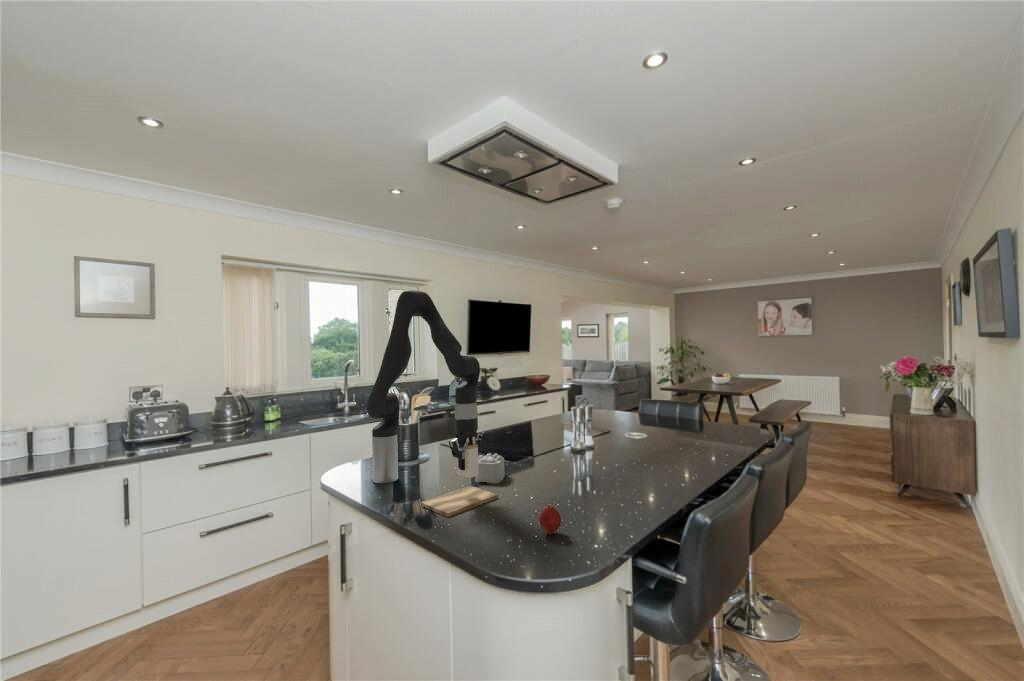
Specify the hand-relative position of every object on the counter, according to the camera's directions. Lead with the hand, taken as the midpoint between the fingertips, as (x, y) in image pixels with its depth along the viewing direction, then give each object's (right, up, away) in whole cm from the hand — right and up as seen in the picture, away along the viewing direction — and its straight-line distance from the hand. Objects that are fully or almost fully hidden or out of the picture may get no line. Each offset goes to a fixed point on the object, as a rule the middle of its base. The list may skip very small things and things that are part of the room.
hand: (467, 468), depth 143 cm
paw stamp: (+7, -11, +23) cm, 26 cm away
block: (0, -2, 0) cm, 2 cm away
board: (-2, -10, -3) cm, 11 cm away
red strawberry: (+25, -10, -28) cm, 39 cm away
